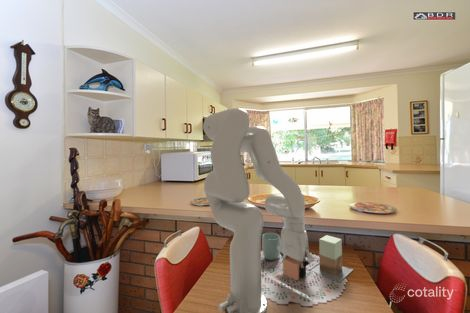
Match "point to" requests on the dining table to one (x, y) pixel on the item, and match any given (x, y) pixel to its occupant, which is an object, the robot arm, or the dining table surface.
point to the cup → (270, 245)
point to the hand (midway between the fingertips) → (294, 272)
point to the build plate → (338, 277)
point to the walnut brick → (331, 265)
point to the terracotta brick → (291, 267)
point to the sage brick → (330, 247)
